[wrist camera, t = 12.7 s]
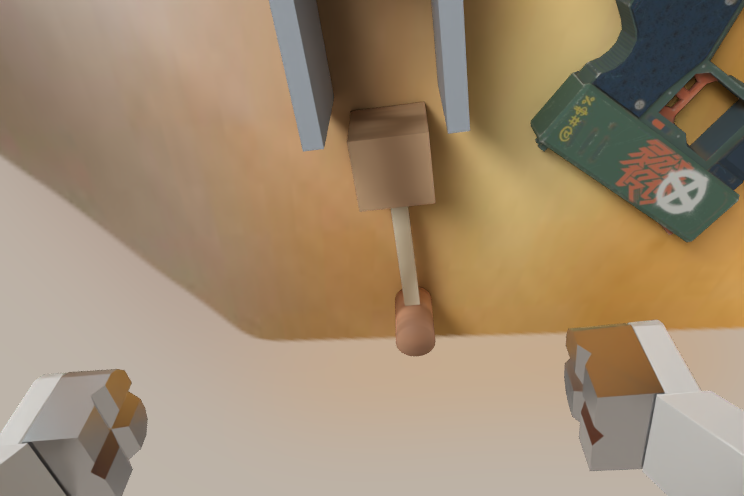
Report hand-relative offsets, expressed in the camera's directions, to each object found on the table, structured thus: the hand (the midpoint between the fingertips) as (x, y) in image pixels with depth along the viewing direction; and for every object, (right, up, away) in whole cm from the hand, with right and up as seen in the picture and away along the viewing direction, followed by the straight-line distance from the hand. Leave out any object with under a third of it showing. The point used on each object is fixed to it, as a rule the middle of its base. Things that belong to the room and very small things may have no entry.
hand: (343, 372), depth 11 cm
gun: (+20, +13, +29) cm, 38 cm away
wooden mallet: (+3, +4, +35) cm, 35 cm away
